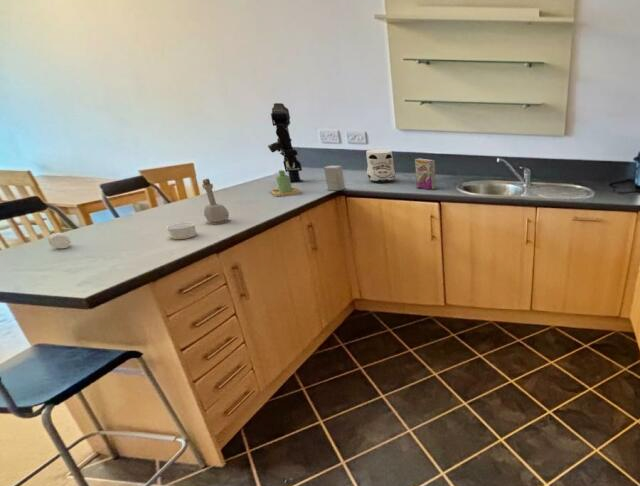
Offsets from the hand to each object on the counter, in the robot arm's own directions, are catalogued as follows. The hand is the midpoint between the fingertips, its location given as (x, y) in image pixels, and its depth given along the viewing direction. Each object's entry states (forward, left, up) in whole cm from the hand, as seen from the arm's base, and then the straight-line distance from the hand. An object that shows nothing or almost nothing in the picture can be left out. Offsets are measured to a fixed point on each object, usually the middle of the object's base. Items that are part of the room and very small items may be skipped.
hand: (290, 166), depth 228 cm
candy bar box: (+34, +65, -13) cm, 74 cm away
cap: (0, 0, 0) cm, 0 cm away
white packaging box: (+10, +20, -13) cm, 26 cm away
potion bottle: (+47, -42, -13) cm, 64 cm away
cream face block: (+2, +51, -13) cm, 53 cm away
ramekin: (+62, -55, -13) cm, 83 cm away
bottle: (+5, -6, -12) cm, 14 cm away
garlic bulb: (+53, -90, -13) cm, 105 cm away
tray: (+6, -6, -13) cm, 15 cm away
